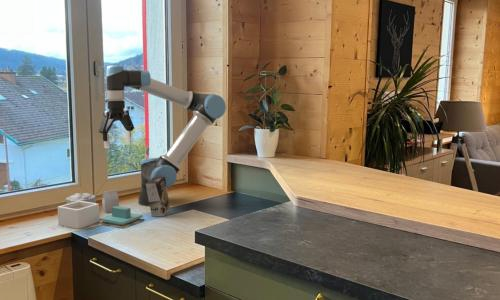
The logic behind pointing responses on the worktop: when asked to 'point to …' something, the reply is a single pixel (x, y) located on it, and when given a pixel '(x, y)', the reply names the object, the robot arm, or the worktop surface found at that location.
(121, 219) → the lid
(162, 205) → the coffee box
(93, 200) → the lumpy-topped squat cylinder
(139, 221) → the cork mat
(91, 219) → the storage box
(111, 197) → the grey rectangular block
